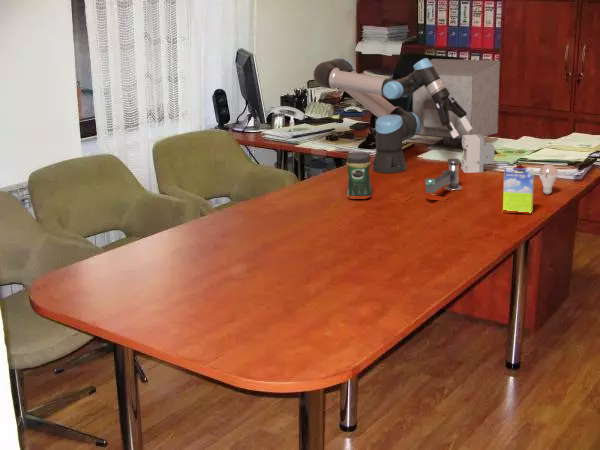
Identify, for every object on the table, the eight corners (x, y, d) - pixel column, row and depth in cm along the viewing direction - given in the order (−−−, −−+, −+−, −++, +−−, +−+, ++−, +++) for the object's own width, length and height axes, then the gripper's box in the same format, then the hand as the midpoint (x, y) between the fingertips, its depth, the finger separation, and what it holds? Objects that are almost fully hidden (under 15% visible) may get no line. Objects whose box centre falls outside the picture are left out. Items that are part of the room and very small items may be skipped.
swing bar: (444, 179, 332) (444, 166, 330) (456, 180, 329) (456, 167, 327) (422, 193, 314) (422, 179, 312) (434, 195, 312) (434, 181, 310)
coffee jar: (372, 195, 331) (371, 150, 325) (370, 201, 324) (369, 154, 318) (348, 195, 333) (347, 150, 327) (346, 200, 326) (344, 154, 320)
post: (441, 190, 333) (442, 161, 329) (448, 185, 339) (448, 157, 335) (458, 192, 329) (458, 163, 326) (464, 187, 335) (465, 159, 331)
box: (532, 212, 301) (534, 166, 296) (532, 215, 298) (534, 169, 292) (503, 210, 305) (504, 165, 299) (502, 214, 301) (503, 168, 295)
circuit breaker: (497, 171, 356) (498, 137, 352) (464, 172, 357) (464, 138, 352) (493, 167, 363) (494, 133, 359) (461, 168, 364) (461, 135, 359)
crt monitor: (498, 141, 409) (500, 60, 396) (470, 158, 379) (472, 71, 367) (433, 136, 427) (433, 58, 414) (401, 152, 397) (400, 68, 385)
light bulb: (557, 192, 323) (559, 163, 319) (555, 197, 317) (556, 167, 313) (539, 191, 325) (541, 161, 322) (536, 196, 320) (537, 166, 316)
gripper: (431, 91, 347) (457, 135, 346) (457, 82, 366) (481, 123, 365) (418, 101, 352) (443, 143, 351) (444, 91, 371) (468, 131, 370)
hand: (463, 133), depth 358 cm, fingers open, 13 cm apart
